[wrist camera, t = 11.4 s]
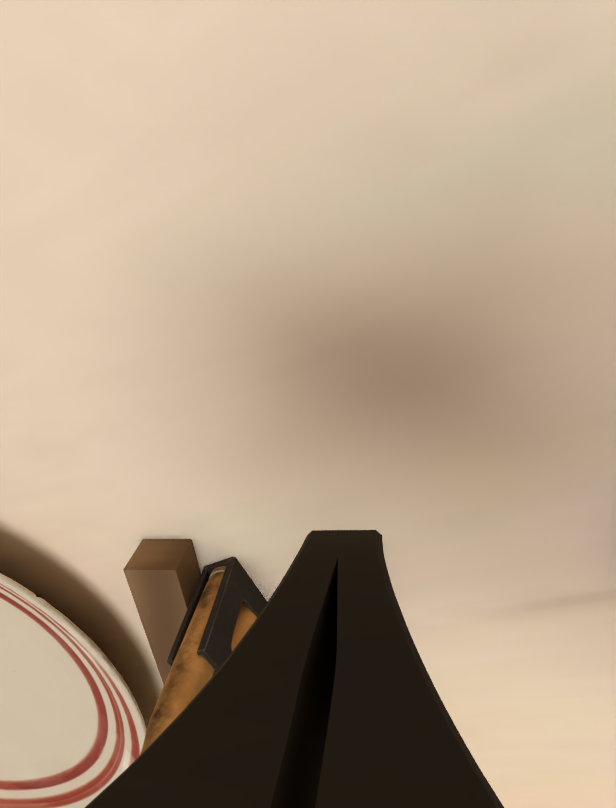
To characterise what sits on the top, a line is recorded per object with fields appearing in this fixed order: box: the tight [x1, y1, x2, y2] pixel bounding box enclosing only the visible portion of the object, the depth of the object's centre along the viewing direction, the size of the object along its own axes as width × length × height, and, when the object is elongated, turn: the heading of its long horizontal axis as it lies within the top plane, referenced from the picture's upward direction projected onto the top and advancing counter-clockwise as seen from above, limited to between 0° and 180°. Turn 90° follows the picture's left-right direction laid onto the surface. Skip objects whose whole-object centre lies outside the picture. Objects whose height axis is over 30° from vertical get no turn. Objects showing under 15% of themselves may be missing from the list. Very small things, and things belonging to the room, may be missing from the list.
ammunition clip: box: [139, 557, 267, 756], centre depth 21 cm, size 11×2×12 cm, turn 28°
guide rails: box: [123, 540, 201, 684], centre depth 26 cm, size 11×18×2 cm, turn 7°
